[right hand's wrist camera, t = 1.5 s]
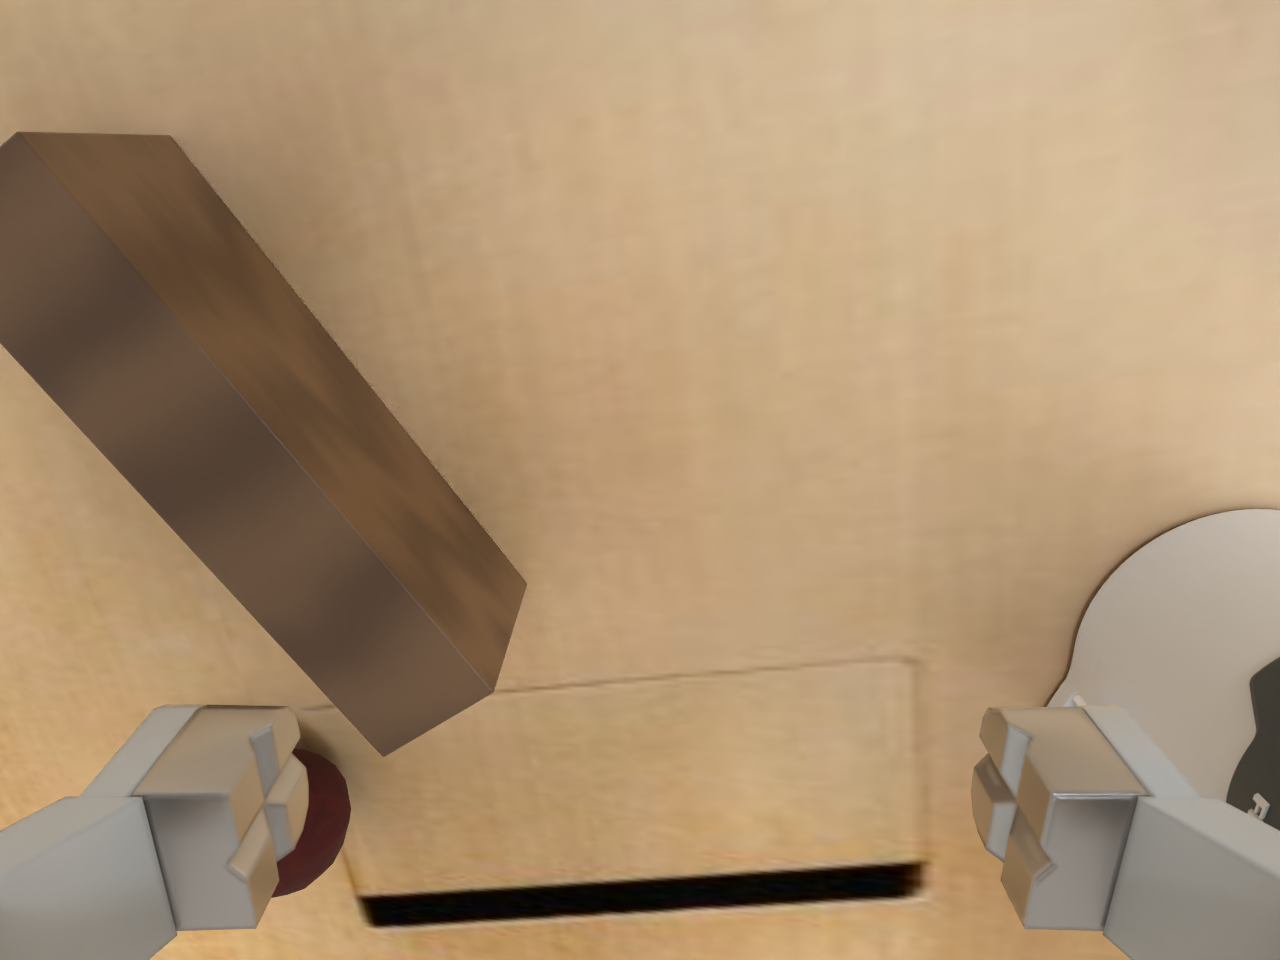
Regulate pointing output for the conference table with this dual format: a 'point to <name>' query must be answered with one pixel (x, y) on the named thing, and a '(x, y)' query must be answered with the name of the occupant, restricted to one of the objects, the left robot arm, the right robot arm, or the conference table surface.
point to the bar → (247, 428)
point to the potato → (316, 826)
